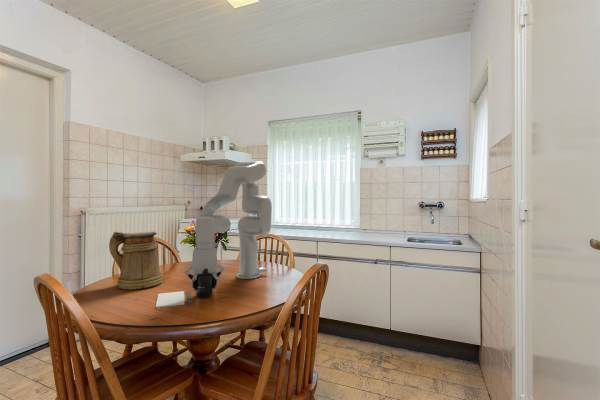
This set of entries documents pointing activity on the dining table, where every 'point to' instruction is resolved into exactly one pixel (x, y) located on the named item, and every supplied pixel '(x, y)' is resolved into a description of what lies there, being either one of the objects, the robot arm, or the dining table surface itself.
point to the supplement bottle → (204, 284)
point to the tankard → (136, 259)
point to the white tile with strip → (172, 299)
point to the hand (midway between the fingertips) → (204, 288)
